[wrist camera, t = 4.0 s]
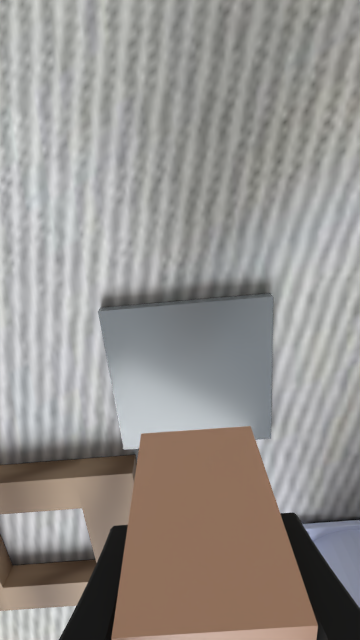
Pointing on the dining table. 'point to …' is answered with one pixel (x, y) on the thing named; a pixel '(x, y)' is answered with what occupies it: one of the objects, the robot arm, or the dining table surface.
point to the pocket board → (59, 494)
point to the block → (208, 545)
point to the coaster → (190, 365)
